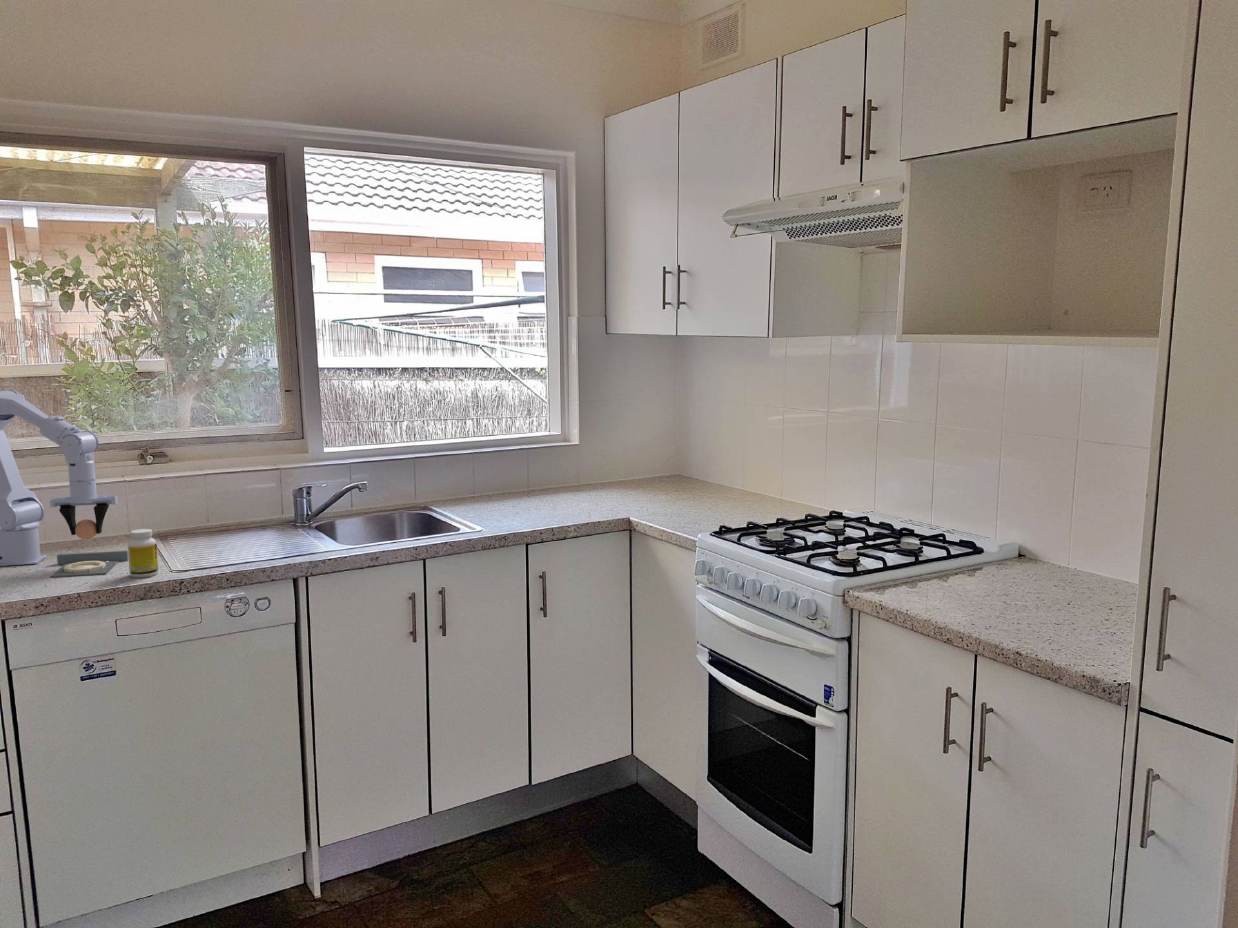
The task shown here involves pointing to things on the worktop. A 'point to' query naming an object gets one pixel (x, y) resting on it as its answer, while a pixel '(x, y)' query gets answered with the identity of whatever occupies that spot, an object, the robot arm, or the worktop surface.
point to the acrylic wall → (92, 557)
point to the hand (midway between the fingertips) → (86, 533)
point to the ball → (85, 529)
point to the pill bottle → (142, 554)
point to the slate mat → (84, 568)
